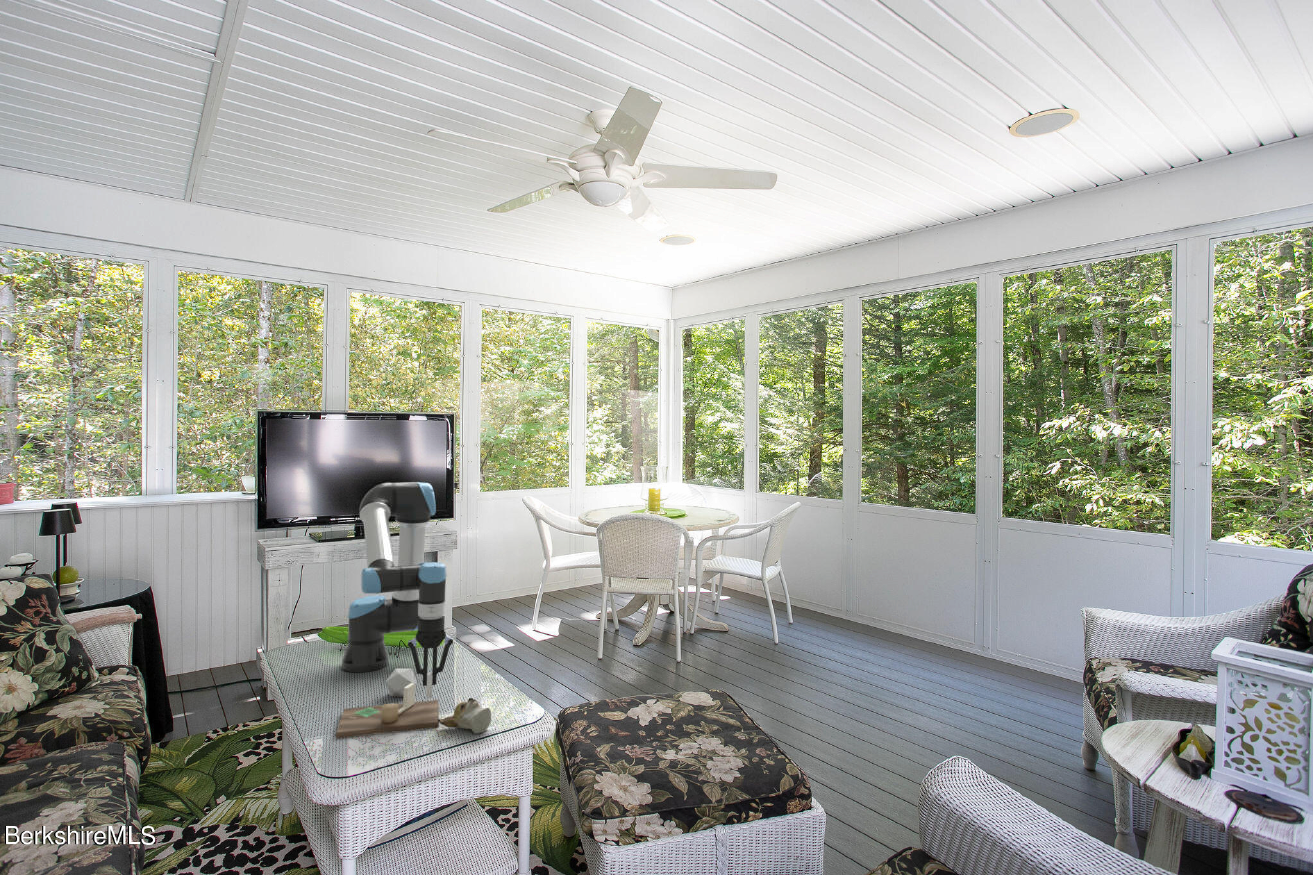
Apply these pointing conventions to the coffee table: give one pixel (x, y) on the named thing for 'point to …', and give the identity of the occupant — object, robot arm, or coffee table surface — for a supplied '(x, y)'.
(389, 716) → the knob lever
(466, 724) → the ceramic sculpture
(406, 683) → the die
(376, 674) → the coffee table surface
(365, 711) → the dial plate
